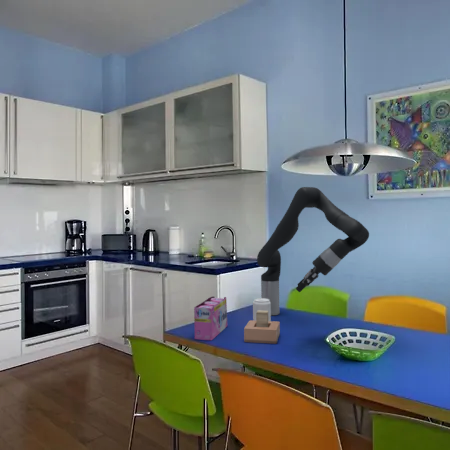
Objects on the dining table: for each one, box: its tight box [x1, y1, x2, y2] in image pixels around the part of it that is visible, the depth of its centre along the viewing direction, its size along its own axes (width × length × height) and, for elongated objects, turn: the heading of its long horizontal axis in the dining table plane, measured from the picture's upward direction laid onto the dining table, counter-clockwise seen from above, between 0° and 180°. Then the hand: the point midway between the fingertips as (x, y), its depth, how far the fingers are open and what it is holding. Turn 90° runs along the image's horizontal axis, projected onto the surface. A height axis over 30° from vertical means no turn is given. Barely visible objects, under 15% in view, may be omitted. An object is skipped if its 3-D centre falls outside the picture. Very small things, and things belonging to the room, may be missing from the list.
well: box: [243, 319, 281, 345], centre depth 177 cm, size 13×13×6 cm
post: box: [256, 310, 268, 327], centre depth 177 cm, size 4×4×10 cm
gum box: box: [193, 296, 228, 341], centre depth 188 cm, size 24×8×14 cm, turn 163°
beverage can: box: [252, 297, 272, 321], centre depth 196 cm, size 8×8×12 cm
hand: (298, 288), depth 174 cm, fingers open, 8 cm apart
